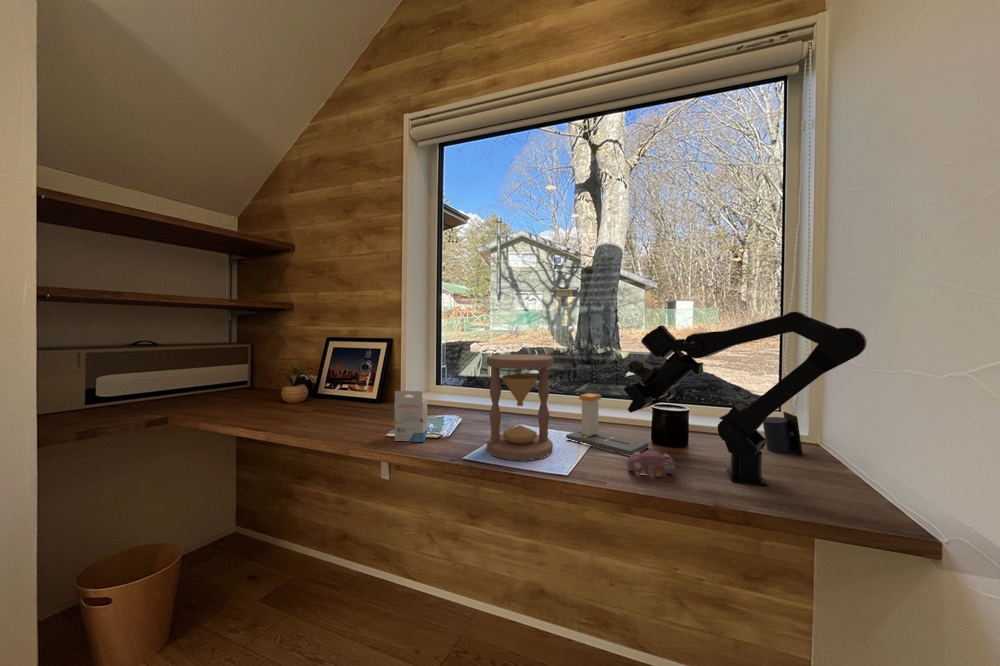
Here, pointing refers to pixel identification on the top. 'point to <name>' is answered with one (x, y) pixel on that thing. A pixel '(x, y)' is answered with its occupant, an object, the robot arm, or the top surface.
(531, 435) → the hourglass
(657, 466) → the video game controller
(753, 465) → the robot arm
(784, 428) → the speaker
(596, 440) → the grey grooved tray
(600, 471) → the top surface
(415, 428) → the ink box
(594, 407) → the fader knob
